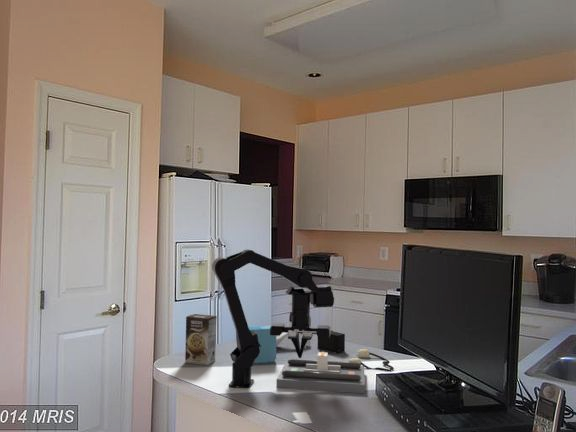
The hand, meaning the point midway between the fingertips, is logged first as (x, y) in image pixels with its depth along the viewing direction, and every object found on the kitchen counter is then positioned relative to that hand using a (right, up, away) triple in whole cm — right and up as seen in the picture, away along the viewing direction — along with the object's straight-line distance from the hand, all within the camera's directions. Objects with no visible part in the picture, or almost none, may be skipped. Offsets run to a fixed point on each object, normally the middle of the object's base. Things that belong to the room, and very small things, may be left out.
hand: (300, 357), depth 147 cm
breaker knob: (+7, -4, -1) cm, 8 cm away
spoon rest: (-7, -8, +38) cm, 40 cm away
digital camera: (+13, -8, +35) cm, 38 cm away
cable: (+26, -8, +18) cm, 33 cm away
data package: (-14, -7, +18) cm, 24 cm away
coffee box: (-35, -7, +17) cm, 39 cm away
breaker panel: (+7, -7, -1) cm, 10 cm away
